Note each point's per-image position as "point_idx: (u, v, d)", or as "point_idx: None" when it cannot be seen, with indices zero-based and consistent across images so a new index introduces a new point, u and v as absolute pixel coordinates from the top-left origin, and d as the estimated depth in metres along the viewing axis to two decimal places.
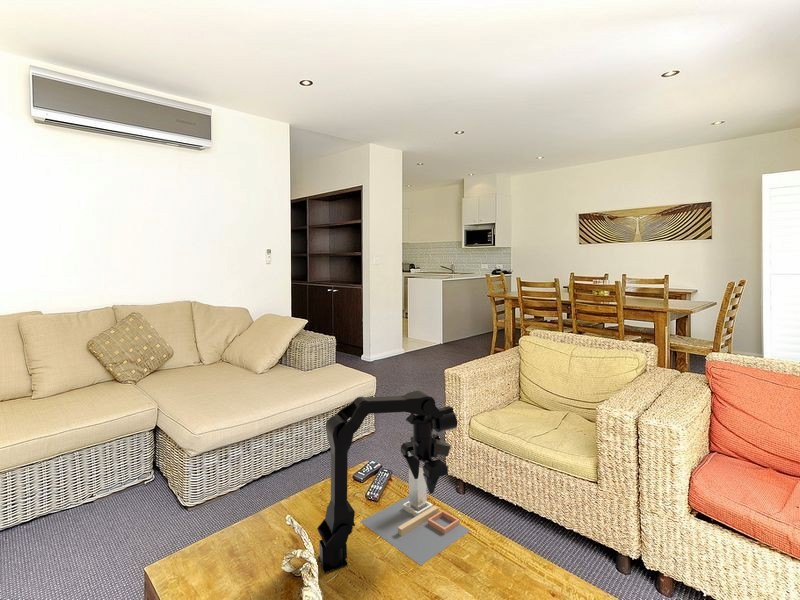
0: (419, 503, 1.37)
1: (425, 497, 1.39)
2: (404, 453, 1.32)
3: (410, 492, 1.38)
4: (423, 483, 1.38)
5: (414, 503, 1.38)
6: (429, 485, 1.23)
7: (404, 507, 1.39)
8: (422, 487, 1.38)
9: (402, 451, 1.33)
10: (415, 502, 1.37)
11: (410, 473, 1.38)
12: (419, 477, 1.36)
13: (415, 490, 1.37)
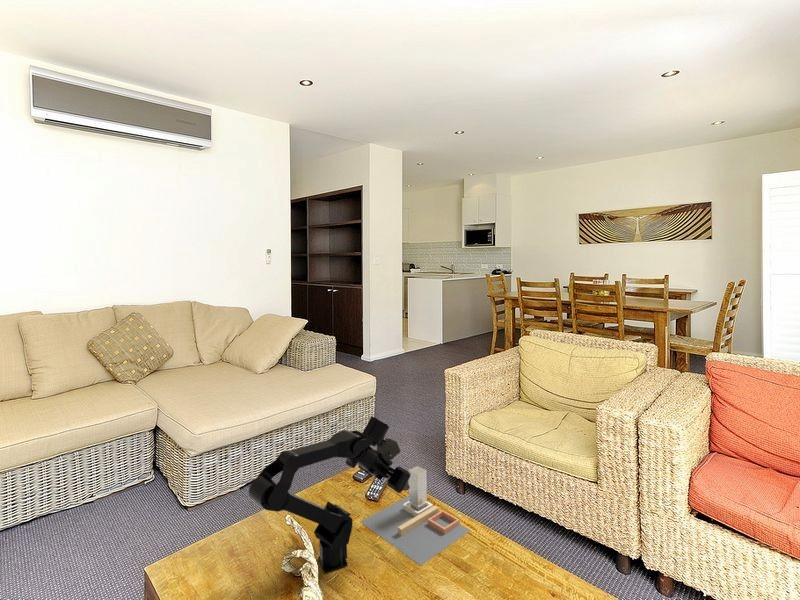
0: (419, 503, 1.37)
1: (425, 497, 1.39)
2: (365, 472, 1.32)
3: (410, 492, 1.38)
4: (423, 483, 1.38)
5: (414, 503, 1.38)
6: (403, 489, 1.27)
7: (404, 507, 1.39)
8: (422, 487, 1.38)
9: (362, 470, 1.33)
10: (415, 502, 1.37)
11: (410, 473, 1.38)
12: (419, 477, 1.36)
13: (415, 490, 1.37)
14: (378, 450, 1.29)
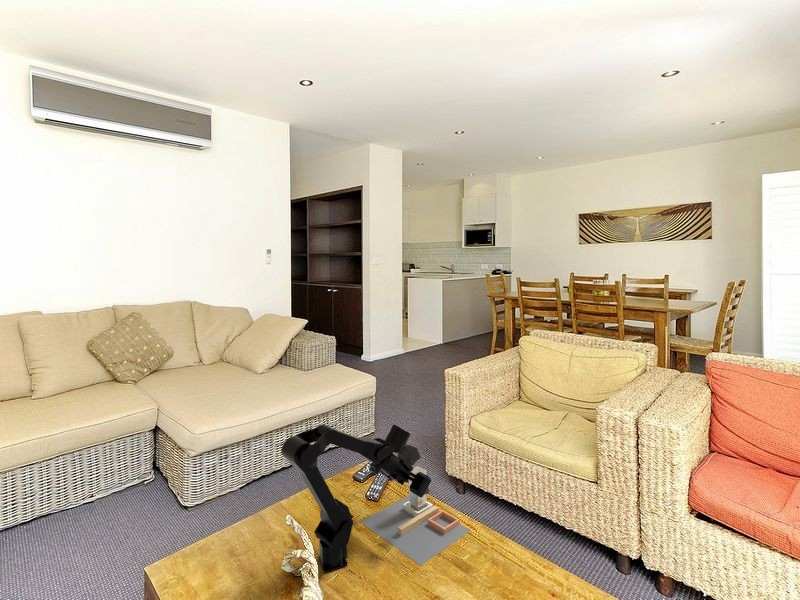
0: (419, 503, 1.37)
1: (425, 497, 1.39)
2: (387, 477, 1.38)
3: (410, 492, 1.38)
4: None
5: (414, 503, 1.38)
6: None
7: (404, 507, 1.39)
8: None
9: (384, 475, 1.39)
10: (415, 502, 1.37)
11: None
12: None
13: None
14: (399, 456, 1.35)
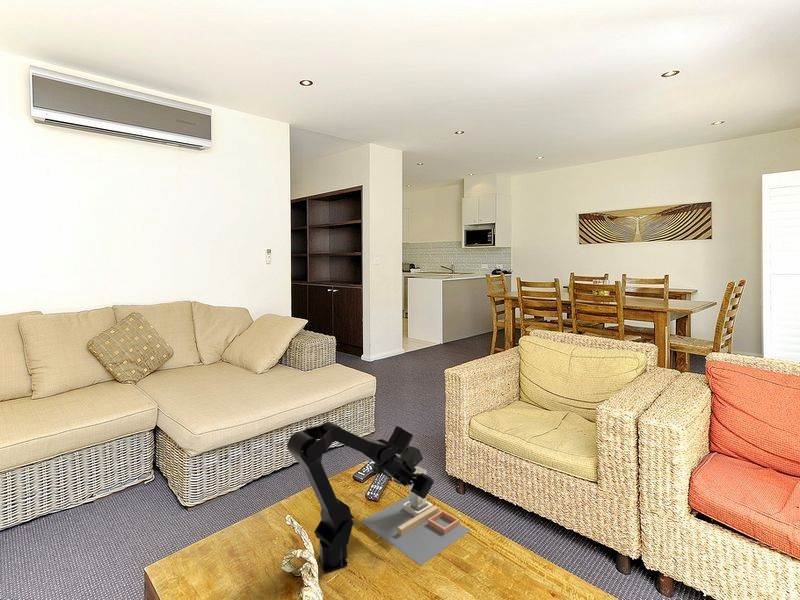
0: (419, 503, 1.37)
1: None
2: (389, 478, 1.39)
3: (410, 492, 1.38)
4: None
5: (414, 503, 1.38)
6: None
7: (404, 507, 1.39)
8: None
9: (386, 476, 1.40)
10: (415, 502, 1.37)
11: None
12: None
13: None
14: (402, 457, 1.35)
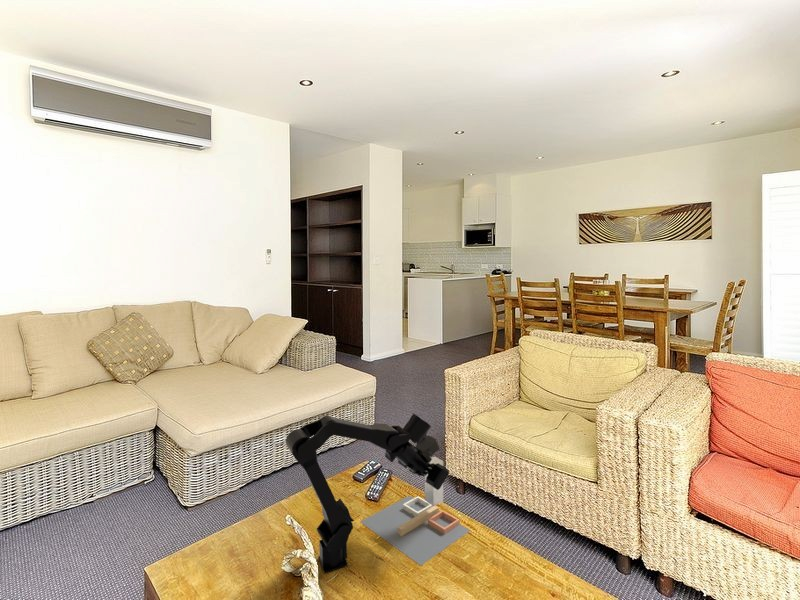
0: (435, 494, 1.32)
1: (441, 489, 1.33)
2: (405, 467, 1.35)
3: (426, 483, 1.33)
4: None
5: (430, 494, 1.32)
6: None
7: (404, 507, 1.39)
8: None
9: (402, 465, 1.36)
10: (430, 494, 1.32)
11: None
12: None
13: None
14: (417, 446, 1.31)
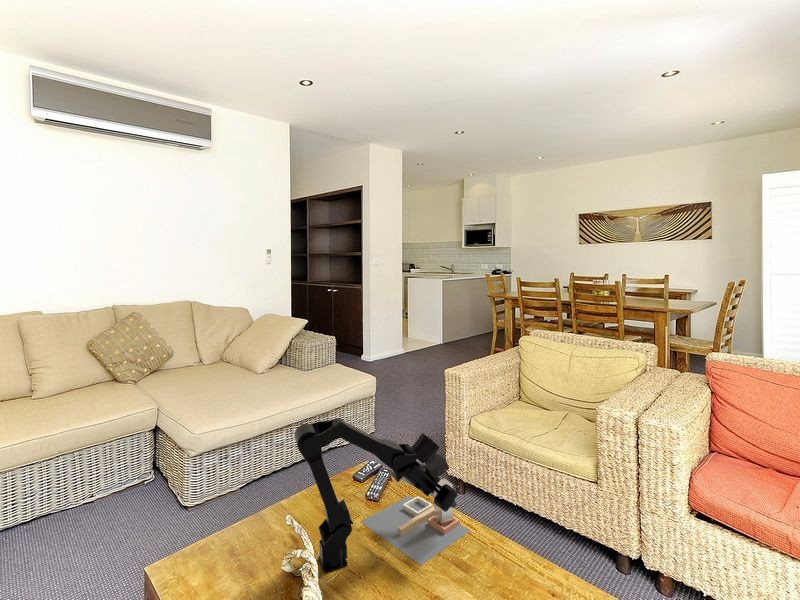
0: (444, 518, 1.29)
1: (451, 513, 1.30)
2: None
3: (435, 506, 1.31)
4: None
5: (439, 518, 1.30)
6: None
7: (404, 507, 1.39)
8: None
9: None
10: (439, 517, 1.29)
11: None
12: None
13: None
14: (426, 465, 1.28)
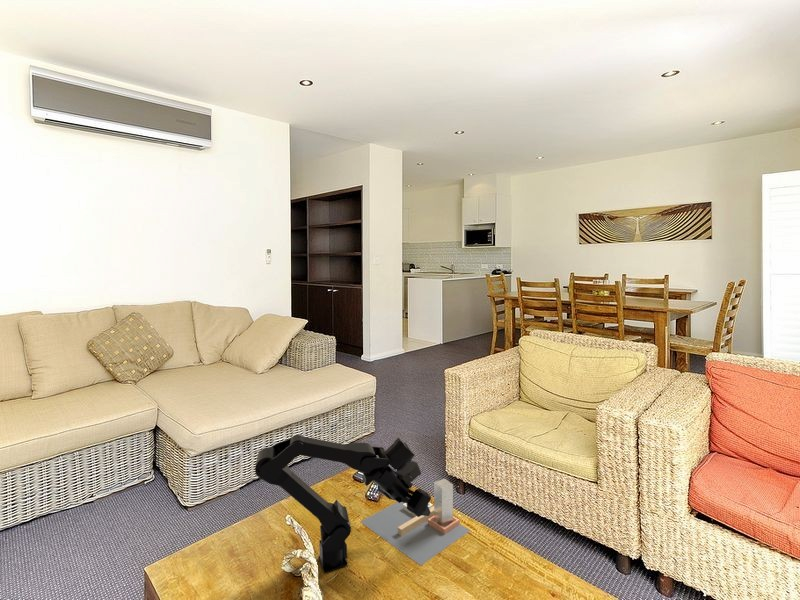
0: (444, 518, 1.29)
1: (451, 513, 1.30)
2: (384, 495, 1.27)
3: (435, 506, 1.31)
4: (449, 498, 1.29)
5: (439, 518, 1.30)
6: (423, 513, 1.20)
7: (404, 507, 1.39)
8: (448, 501, 1.29)
9: (382, 493, 1.28)
10: (439, 517, 1.29)
11: (435, 485, 1.30)
12: (444, 491, 1.28)
13: (440, 504, 1.29)
14: (398, 471, 1.24)
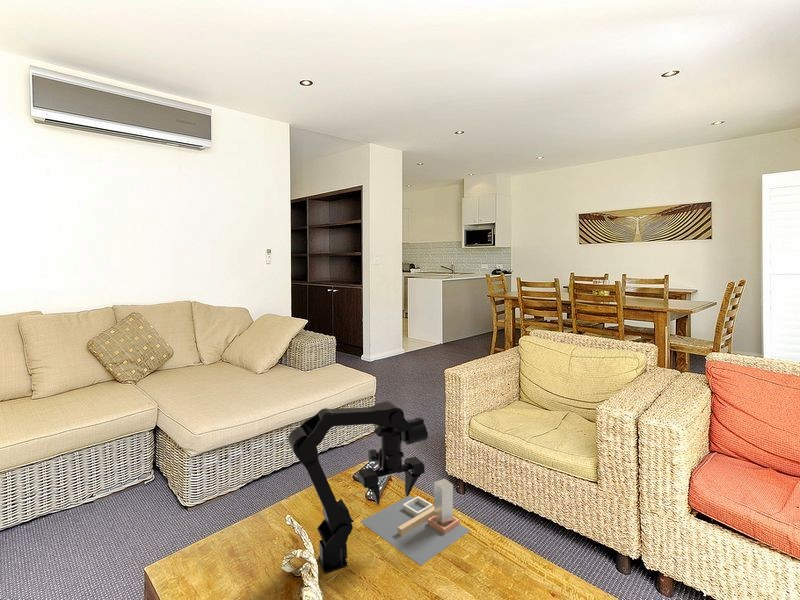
0: (444, 518, 1.29)
1: (451, 513, 1.30)
2: (375, 483, 1.18)
3: (435, 506, 1.31)
4: (449, 498, 1.29)
5: (439, 518, 1.30)
6: None
7: (404, 507, 1.39)
8: (448, 501, 1.29)
9: (371, 484, 1.18)
10: (439, 517, 1.29)
11: (435, 485, 1.30)
12: (444, 491, 1.28)
13: (440, 504, 1.29)
14: None
